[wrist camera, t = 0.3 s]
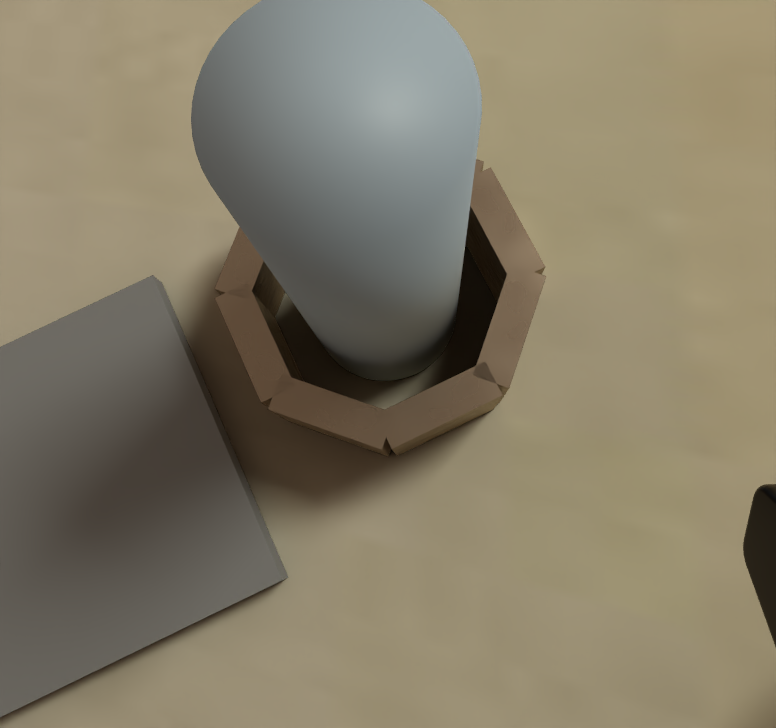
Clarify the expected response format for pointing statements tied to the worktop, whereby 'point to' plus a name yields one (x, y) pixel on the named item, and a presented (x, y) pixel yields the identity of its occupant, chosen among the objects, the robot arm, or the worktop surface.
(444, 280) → the slate peg
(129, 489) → the gray base plate
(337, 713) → the worktop surface
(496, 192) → the bronze collar
